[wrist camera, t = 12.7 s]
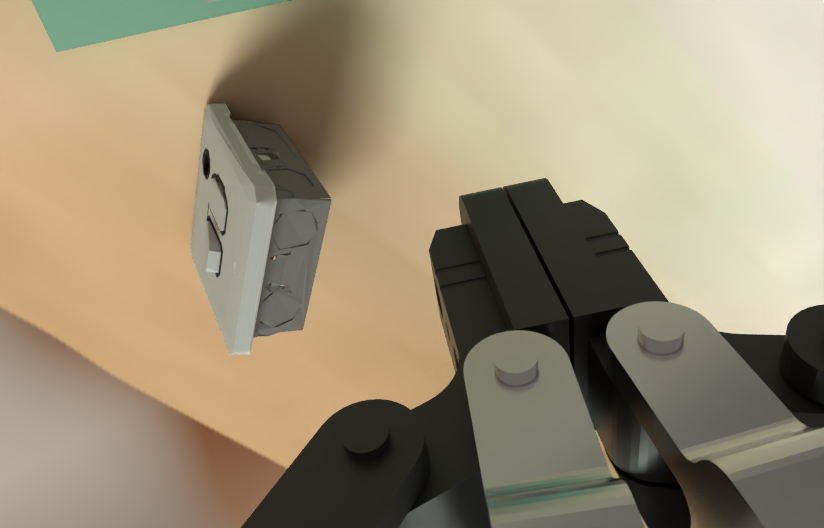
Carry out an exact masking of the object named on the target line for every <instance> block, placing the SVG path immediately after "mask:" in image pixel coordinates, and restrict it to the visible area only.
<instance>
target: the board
mask: <svg viewBox="0 0 824 528" xmlns="http://www.w3.org/2000/svg"><path fill="white" fill-rule="evenodd" d="M286 1H290V0H32V2H33V4H34V6H35V8H36V10H37V13H38V15H39V17H40V19H41V21H42V23H43V25H44V27H45V29H46V31H47V33H48V35H49V37H50V40H51V42H52V44H53V46H54V48H55V50H56V52H60V51H64V50H69V49H73V48H78V47H82V46H87V45H91V44H96V43H100V42H105V41H109V40H114V39H118V38H123V37H127V36H132V35H137V34H141V33H146V32H150V31H155V30H159V29H164V28H168V27H173V26H177V25H182V24H186V23H191V22H195V21H200V20H204V19H209V18H213V17H218V16H222V15H227V14H231V13H236V12H240V11H245V10H249V9H254V8H258V7H263V6H267V5H272V4H276V3H281V2H286Z"/></svg>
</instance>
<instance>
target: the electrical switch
mask: <svg viewBox="0 0 824 528" xmlns="http://www.w3.org/2000/svg"><path fill="white" fill-rule="evenodd" d="M230 114H231V113H230V111H229V109H228V107H227V105H226V104H208V105H207V106H206V108H205V110H204V119H203V129H202V139H201V149H200V158H199V168H198V178H197V188H196V198H195V207H194V217H193V227H192V237H191V252H192V258H193V261H194V264H195V267H196V269H197V272H198V275H199V277H200V280H201V282H202V285H203V288H204V290H205V293H206V295H207V298H208V300H209V303H210V306H211V308H212V311H213V313H214V316H215V318H216V321H217V324H218V326H219V329H220V331H221V334H222V336H223V339H224V342H225V344H226V347H227V349H228V352H229V353H230V354H231V355H237V354H250V352H251V346H252V340H253V338H254V337H257V336H270V335H273V334H275V333H278V332H286V331H297V330H303V327H304V322H305V318H306V313H307V309H308V304H309V300H310V295H311V291H312V286H313V282H314V277H315V273H316V268H317V264H318V259H319V255H320V250H321V245H322V241H323V236H324V232H325V227H326V223H327V218H328V214H329V209H330V205H331V199H320V198H330V196H329V195H328V193H327V192H326V190H325V189H324V188H323V186H322V185H321V183H320V182H319V180H318V179H317V178H316V176H315V175H314V173H313V172H312V170H311V169H310V167H309V166H308V165H307V163H306V162H305V160H304V159H303V157H302V156H301V155H300V153H299V152H298V150H297V149H296V147H295V146H294V145H293V143H292V142H291V140H290V139H289V137H288V136H287V135H286V133H285V132H284V130H283V129H282V127H281V126H280V125H279V124H264V123H256V122H251V121H247V120H232V119H230ZM273 156H274V157H275V158H276V159H275V160H273ZM312 186H313V187H312ZM317 220H318V222H317ZM291 253H293V254H291ZM274 256H276V260H273V258H274ZM280 285H287V286H280ZM291 291H292V292H291ZM300 305H301V307H300ZM299 307H300V308H299Z"/></svg>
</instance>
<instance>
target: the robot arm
mask: <svg viewBox="0 0 824 528" xmlns="http://www.w3.org/2000/svg"><path fill="white" fill-rule="evenodd" d="M459 208H460V216H461V223H462V225H459V226H455V227H450V228H445V229H440V230H436V232H435V235H434V238H433V240H432V243H431V246H430V249H429V253H430V259H431V265H432V271H433V277H434V283H435V289H436V295H437V300H438V306H439V312H440V318H441V322H442V325H443V329H444V333H445V336H446V339H447V344H448V347H449V351H450V354H451V357H452V362H453V365H454V369H455V373H456V374H455V376H454V378H453V379H452V381H451V382H450V383H449V385H448V386H447V387H446V388H445V389H444V390H443V391H442V392H441V393H439V394H438V395H437V396H436V397H434V398H432V399H431V400H429V401H427V402H425V403H423V404H422V405H420V406H418V407H416V408H414V409H412V410H410V409H409V408H407V407H406V406H404V405H402V404H399V403H397V402H393V401H389V400H381V399H375V400H366V401H360V402H357V403H354V404H351V405H349V406H347V407H344V408H343V409H341V410H339V411H338V412H336V413H335V414H333V415H332V416H331V417H330V418H329V419H328V420H327V421H326V422H325V423H324V424H323V425H322V426H321V427H320V429H319V430H318V431H317V433H316V434H315V435H314V436H313V438H312V439H311V440H310V441H309V443H308V444H307V445H306V446H305V448H304V449H303V450H302V451H301V453H300V454H299V455H298V456H297V458H296V459H295V460H294V461H293V463H292V464H291V465H290V467H289V468H288V469H287V470H286V472H285V473H284V474H283V475H282V477H281V478H280V479H279V481H278V482H277V483H276V484H275V485H274V487H273V488H272V489H271V490H270V492H269V493H268V494H267V496H266V497H265V498H264V499H263V501H262V502H261V503H260V504H259V506H258V507H257V508H256V509H255V511H254V512H253V513H252V515H251V516H250V517H249V518H248V519H247V521H246V522H245V523H244V525H243V526H242V527H241V528H824V305H817V306H813V307H809V308H807V309H804V310H802V311H800V312H799V313H797V314H796V315H794V317H793V318H792V319H791V320H790V322H789V324H788V326H787V330H786V335H752V334H731V333H724V332H718V331H717V330H716V328H715V327H714V326H713V325H712V324H711V323H710V322H709V321H708V320H707V319H706V318H705V317H704V316H702V315H701V314H699V313H698V312H696V311H694V310H692V309H690V308H688V307H685V306H682V305H679V304H675V303H670V302H668V300H667V299H666V297H665V296H664V295H663V293H662V292H661V290H660V289H659V288H658V286H657V285H656V283H655V282H654V281H653V279H652V278H651V276H650V275H649V274H648V272H647V271H646V269H645V268H644V267H643V265H642V264H641V262H640V261H639V260H638V258H637V257H636V255H635V254H634V253H633V251H632V250H629V246H628V244H627V243H626V241H625V240H624V239H623V237H622V236H621V235H619V234H618V230H617V229H616V227H615V226H614V225H613V223H612V222H611V221H610V219H609V218H608V216H607V215H606V214H605V213H604V212H602V211H601V210H599V209H597V208H595V207H594V206H592V205H590V204H588V203H587V202H585V201H583V200H579V201H574V202H569V203H564V204H563V203H562V201H561V200H560V198H559V196H558V195H557V193H556V192H555V190H554V189H553V187H552V185H551V184H550V182H549V181H548V180H547V179H546V178H543V179H538V180H533V181H528V182H524V183H519V184H514V185H509V186H504V187H503V189H502V188H501V187H500V188H495V189H491V190H486V191H481V192H476V193H471V194H466V195H462V196H459ZM595 430H597V432H598V435H599V437H600V439H601V441H602V443H603V445H604V454H603V451H602V448H601V446H600V443H599V440H598V437H597V435H596V432H595Z"/></svg>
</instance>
